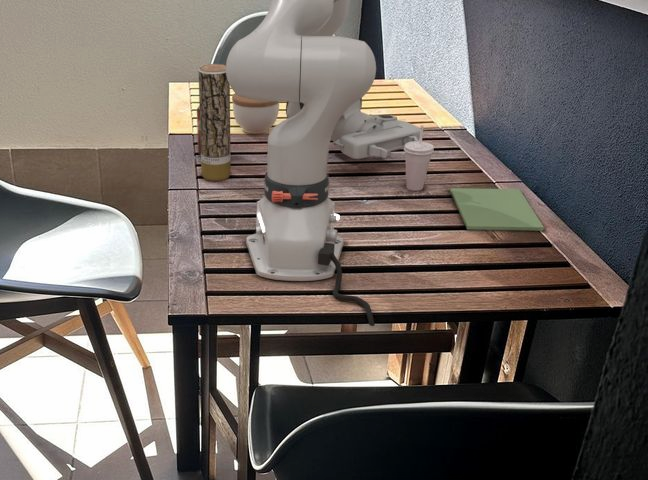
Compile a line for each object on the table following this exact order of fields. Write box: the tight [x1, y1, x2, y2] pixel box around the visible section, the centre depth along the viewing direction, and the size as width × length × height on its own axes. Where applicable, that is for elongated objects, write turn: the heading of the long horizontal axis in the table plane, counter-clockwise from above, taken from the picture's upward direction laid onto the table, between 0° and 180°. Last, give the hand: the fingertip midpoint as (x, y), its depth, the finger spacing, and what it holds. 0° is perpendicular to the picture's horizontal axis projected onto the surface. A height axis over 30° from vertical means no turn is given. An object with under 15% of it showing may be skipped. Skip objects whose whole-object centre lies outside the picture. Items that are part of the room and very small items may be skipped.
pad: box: [449, 187, 545, 232], centre depth 170 cm, size 20×15×1 cm
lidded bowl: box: [231, 92, 280, 135], centre depth 215 cm, size 13×13×11 cm
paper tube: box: [198, 63, 232, 182], centre depth 182 cm, size 7×7×25 cm
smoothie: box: [403, 124, 435, 192], centre depth 178 cm, size 6×6×14 cm
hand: (404, 150), depth 181 cm, fingers open, 8 cm apart
